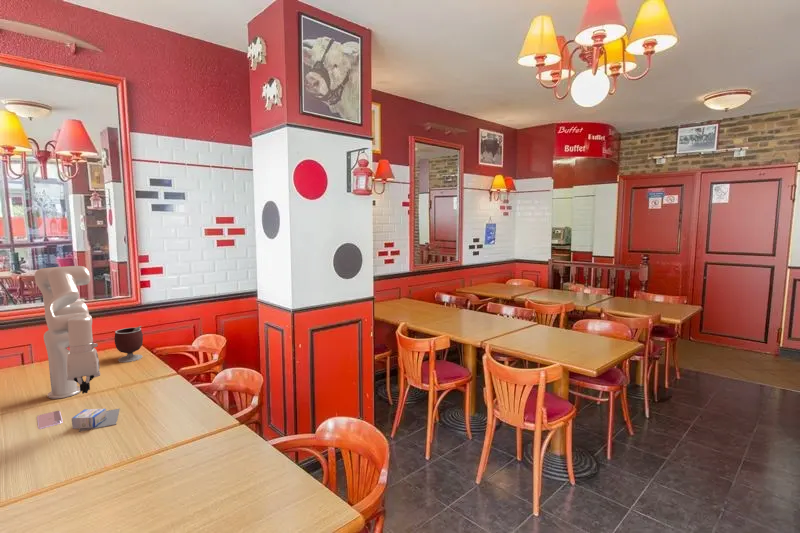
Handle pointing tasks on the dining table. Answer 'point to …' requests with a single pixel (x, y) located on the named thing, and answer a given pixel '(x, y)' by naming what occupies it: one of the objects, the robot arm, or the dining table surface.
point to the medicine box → (89, 418)
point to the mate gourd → (129, 343)
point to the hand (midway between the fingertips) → (85, 392)
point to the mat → (106, 420)
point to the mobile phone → (49, 419)
